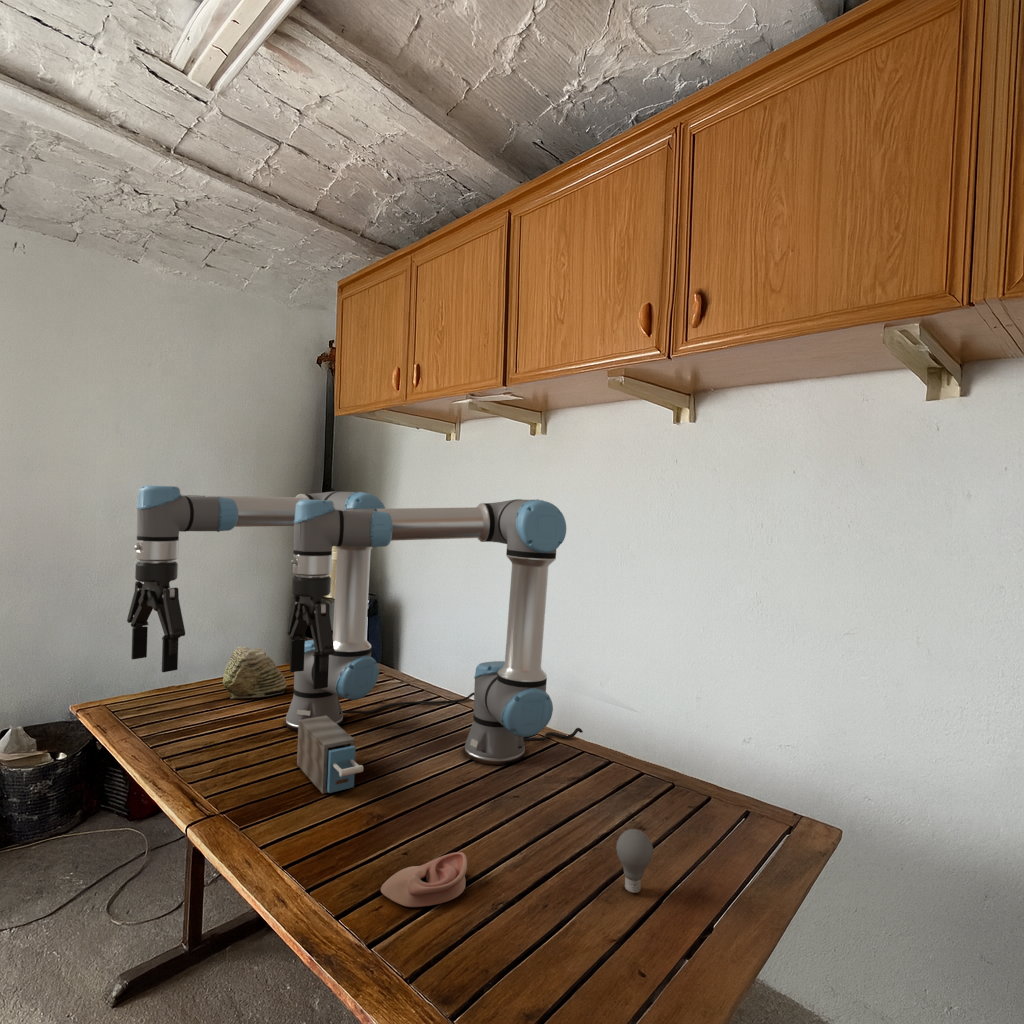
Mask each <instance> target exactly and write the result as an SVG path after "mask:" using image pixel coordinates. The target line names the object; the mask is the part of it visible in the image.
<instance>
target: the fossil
mask: <svg viewBox="0 0 1024 1024" xmlns="http://www.w3.org/2000/svg"><path fill="white" fill-rule="evenodd" d="M222 676H223V677H222V685H223V687H224V688H225V690H226V691H228V693H229V698H230V699H250V698H264V697H271V696H275V695H281V694H284V693H285V691H286V689H287V687H288V686H287V680H286V678H285V676H284V674H283V673H282V672H281V669H279V668H278V667H277V665H276V663H275V662H274V660H273V659H272V658H271V657H270V656H269V655H268V654H267V653H266V652H265V650H264V649H263V648H260V647H258V648H251V647H247V646H246V647H245V646H238V647H237V648H236V649H235V650H233V651H232V653H231V656H230V657H229V659H228V660H227V663H226V666H225V668H224V671H223V675H222Z"/></svg>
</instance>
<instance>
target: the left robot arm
mask: <svg viewBox="0 0 1024 1024" xmlns="http://www.w3.org/2000/svg"><path fill="white" fill-rule="evenodd" d="M303 499H307V500H330V501H332V502H333V503H334V508H335V510H341V511H343V510H346V509H349V508H355V509H386V506H385V504H384V503H383V502H382V501H381V499H380V498H379V497H378V496H377V495H374V494H372V493H368V492H363V491H337V490H336V491H325V492H316V493H299V494H297V495H296V496H294V497H290V496H248V495H247V496H244V495H198V494H194V495H193V494H181V489H180V487H178V486H175V485H174V486H172V485H171V486H170V485H168V486H167V485H148V484H146V485H145V484H144V485H143V486H141V487H139V490H138V495H137V503H136V545H134V547H133V549H134V550H135V551H136V552H135V556H136V557H135V558H136V560H137V562H136V563H135V571H134V572H135V574H134V575H135V576H134V577H135V580H136V581H135V583H134V592H133V596H132V599H131V604H130V607H129V609H128V616H127V617H126V622H127V624H130V627H131V628H132V629H131V630H132V631H131V660H139V659H144V658H145V659H146V658H147V657H148V631H149V630H148V629H149V627H148V626H149V625H150V624H149V622H148V620H149V618H150V616H151V614H152V612H153V611H155V612H156V613H157V616H158V619H159V622H160V625H161V629H162V631H163V634H164V635H163V636H162V637H161V640H162V649H161V673H167V672H168V673H169V672H173V671H178V669H179V668H178V666H179V665H178V664H179V639H180V638H181V637H184V636H186V630H185V623H184V617H183V614H182V609H181V604H180V598H179V597H180V596H179V595H180V594H179V588H178V587H171V586H170V585H171V584H170V582H173V581H176V580H177V579H178V573H179V572H178V569H179V563H178V562H177V561H176V560H178V559H179V547H180V546H179V545H180V544H179V543H180V540H179V539H180V538H179V537H180V532H181V533H182V532H184V533H186V532H217V533H220V532H228V531H232V530H233V529H234V528H236V527H237V528H240V527H241V528H243V527H245V528H246V527H247V528H248V527H249V528H250V527H294V520H295V509H296V503H297V502H298V501H299V500H303ZM335 548H336V550H337V551H336V571H335V587H334V589H335V590H334V605H333V606H334V608H333V625H332V626H333V627H332V636H333V643H334V653H333V654H330V655H329V668H328V687H327V688H320V689H313V671H314V657H313V654H314V652H316V650H315V646H314V641H313V639H308V640H305V651H304V671H298V672H293V673H294V674H293V695H292V696H293V697H292V699H291V702H290V704H289V708H288V711H287V713H286V715H285V726H286V728H287V729H289V730H291V731H294V732H295V731H296V732H298V724H299V720H303V719H309V718H315V717H321V716H328V717H329V718H330V719H331V720H332V721H334V722H335V723H336V724H337V725H338V726H339V727H340V725H342V723H343V722H344V714H361V715H362V714H363V715H364V714H365V715H366V714H373V713H375V712H378V711H381V710H383V709H386V708H390V707H395V706H405V705H429V704H430V705H440V704H453V703H455V704H456V703H462V702H465V701H468V700H469V699H470V698H471V697H474V692H471V693H470V694H468V696H466V697H464V698H459V699H452V700H451V699H450V700H432V701H428V700H417V701H416V700H415V701H402V702H401V701H400V702H394V703H389V704H388V703H387V704H385V705H382V706H380V707H377V708H373V709H371V710H343V709H342V706H341V702H340V699H339V698H341V699H347V700H351V701H357V700H360V699H363V698H364V697H366V696H367V695H368V694H370V692H371V690H373V689H374V688H375V686H376V684H377V682H378V679H379V676H380V667H379V664H378V662H377V661H376V659H375V658H374V657H372V644H371V643H370V642H369V641H368V640H367V626H368V610H369V609H368V608H369V588H370V573H371V572H370V571H371V570H370V569H371V553H372V552H371V551H372V549H374V548H373V547H353V546H335Z"/></svg>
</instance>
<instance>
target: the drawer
mask: <svg viewBox="0 0 1024 1024" xmlns="http://www.w3.org/2000/svg"><path fill="white" fill-rule="evenodd" d="M363 772H364V765H363V764H358V763H357V761H356V746H355V745H354V746H349V747H348V745H347V744H346V745H341V746H336V747H331V748H328V760H327V791H328V792H329V793H328V794H332V793H336V792H340V791H344V790H347V789H352V788H354V787H355V775H356V774H360V773H363Z"/></svg>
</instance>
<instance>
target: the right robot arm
mask: <svg viewBox="0 0 1024 1024" xmlns="http://www.w3.org/2000/svg"><path fill="white" fill-rule="evenodd" d="M566 535H567V522H566V519H565V516H564V514H563V512H562V511H561V509H559V508H558V506H556V505H555V504H554V503H552V502H549V501H546V500H543V499H522V498H520V499H519V498H517V499H516V498H515V499H510V500H504V501H498V502H497V501H496V502H484V503H483V502H482V503H478V504H477V506H475V507H472V506H471V507H412V508H411V507H407V508H404V507H403V508H400V507H399V508H385V509H355V508H349V509H346V510H343V511H341V510H335V508H334V503H333V502H332V501H330V500H307V499H303V500H299V501H298V502H297V503H296V509H295V520H294V526H293V552H292V553H293V559H291V560H290V564H291V565H292V574H294V576H293V577H292V579H291V580H292V581H291V593H292V595H293V601H292V608H291V612H290V618H289V622H288V627H287V632H286V635H287V636H289V639H290V654H289V655H290V657H289V672H290V673H294V672H298V671H304V651H305V641H306V639H307V636H306V631H307V629H308V627H309V629H310V632H311V636H312V640H313V641H314V646H315V650H316V652H314V654H313V657H314V671H313V689H320V688H327V687H328V668H329V655H330V654H333V653H334V643H333V628H332V625H331V624H332V623H331V616H330V615H331V614H330V613H331V612H330V611H331V610H330V607H331V606H330V603H329V602H327V603H326V602H325V603H323V598H324V597H326V596H329V595H330V594H331V588H332V578H331V576H330V574H332V572H333V547H336V546H353V547H373V548H372V549H374V548H383V547H385V548H386V547H388V546H389V545H390V543H391V542H392V541H393V542H394V541H424V540H428V541H429V540H461V539H477V540H478V541H479V542H480V543H485V542H486V543H497V544H503V545H506V555H505V556H506V558H507V559H508V560H509V561H510V562H511V573H510V585H509V586H510V587H509V590H510V591H509V601H508V613H507V615H508V616H507V617H508V618H507V626H506V627H507V628H506V640H505V641H506V643H505V655H504V660H496V661H495V660H494V661H485V662H481V663H479V664H477V665H476V667H475V673H474V677H473V678H474V688H473V689H474V690H473V691H474V692H473V693H474V695H473V719H472V724H471V726H470V730H469V732H468V735H467V737H466V740H465V743H464V754H465V756H466V757H467V758H468V759H469V760H471V761H474V762H477V763H479V764H485V765H490V766H491V765H493V766H500V765H501V766H503V765H510V764H514V763H517V762H519V761H521V760H522V759H523V758H525V755H526V745H525V743H529V742H544V741H546V740H547V739H548V738H549V737H551V736H552V737H557V738H560V739H573V738H574V737H575V736H576V735H577V734H578V733H579V734H580V733H583V730H582V729H581V728H580V727H576V728H575V729H574V730H573V732H571V733H570V734H563V733H559V732H553V731H548V732H546V733H545V734H544V736H542V737H533V736H536V735H538V734H539V733H540V732H542V730H544V728H546V727H547V726H548V724H549V723H550V721H551V719H552V716H553V713H554V712H553V711H554V705H553V701H552V699H551V696H550V694H549V693H547V681H548V674H547V673H546V672H545V670H543V668H542V661H543V660H542V658H543V646H544V634H545V633H544V632H545V620H546V608H547V607H546V606H547V592H548V581H549V567H550V565H552V563H554V562H555V561H556V559H557V549H559V547H560V546H561V544H563V543H564V541H565V538H566ZM566 735H568V736H566Z"/></svg>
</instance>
